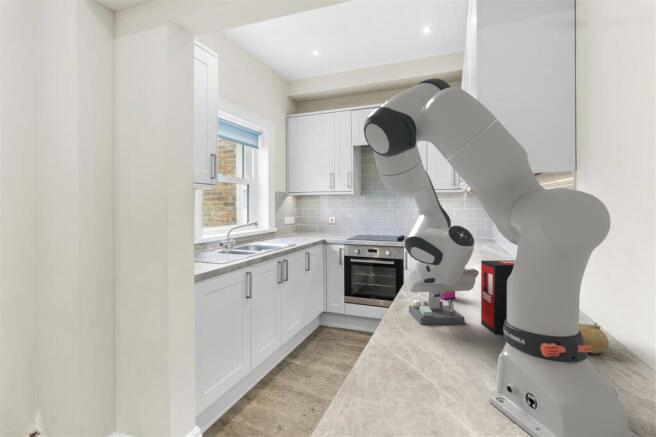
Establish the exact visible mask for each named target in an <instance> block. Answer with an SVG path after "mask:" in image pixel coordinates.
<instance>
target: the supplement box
mask: <svg viewBox="0 0 656 437" xmlns="http://www.w3.org/2000/svg"><path fill="white" fill-rule="evenodd" d="M447 299H448V300H456V291H447V292H446V293H444V294H442V296H441V297H440V300H444V301H447Z"/></svg>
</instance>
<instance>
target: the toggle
mask: <svg viewBox="0 0 656 437" xmlns="http://www.w3.org/2000/svg"><path fill="white" fill-rule="evenodd" d="M448 306H449V313H456V311H457V310H456V309H455V306H454V302H453V299H448Z"/></svg>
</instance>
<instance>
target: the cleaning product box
mask: <svg viewBox="0 0 656 437" xmlns="http://www.w3.org/2000/svg"><path fill="white" fill-rule="evenodd" d="M480 263H481V264H480V265H481V266H480V268H481V269H480V270H481V273H480V276H481V279H480V281H481V282H480V283H481V284H480V287H481V289H480V290H481V291H480V294H481V295H480V298H481V299H480V301H481V302H480V305H481V306H480V307H481V308H480V319H481V320H480V325H481V326H483V327H485V329H486V330H488V331H489V332H491V333H492V334H494V335H495V336H504V331H503V327H504V321H505V319H507V280H508V277H509V276H510V275H511V273H512V270H513V267H514V263H515V260H481V262H480Z"/></svg>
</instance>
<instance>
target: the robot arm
mask: <svg viewBox="0 0 656 437" xmlns="http://www.w3.org/2000/svg"><path fill="white" fill-rule="evenodd" d="M363 133H364V138H365V141H366V143H367V145H368V146H369V148H370V149H371V150H372V152H373V157H374V161H375V164H376V168H377V170H378V174H379V176H380V179H381V181H382V184H383V186H384V187H385V189H386V190H387V191H388V192H389V193H392V194H393V195H397V196H410V195H412V196H413V199H414V201H415V203H416V206H417V208H418V215H417V218H416V220H415V222H414V224H413V226H412V228H411V230H410V231H409V233H408V235H407V237H406V239H405V240H404V248H405V250H406V252H407V254H408V255H409V256H410V258H413V259H414V260H415V261H417V262H416V263H415V269H413V270H412V271H411V272H410V275H409V277H408V279H407V280H408V281H407V286H408V289H409V291H410V292H411V293H427V292H431V295H432V297H441V296H442V294H444V293H446V292H447V291H455V292H469V291H471V290H473V289H474V287H475V284H476V278H478V276H479V271H478V270H477V269H475V268H466V266H467V264H468V263H469V261H470V260H471V257H472V255H473V253H474V248H475V238H474V236H473V234H472V233H471V231H470V230H468V228H465V227H463V226H461V225H452V221H451V218H450V216H449V214H448V213H447V211H446V210H445V209H444V208H443V206H442V204H441V203H440V200H439V198H438V196H437V192H436V190H435V187H434V185H433V182H432V180H431V178H430V175H429V174H428V172H427V171H426V170H425V167H424V164H423V163H424V162H423V161H422V157H421V154H420V151H419V147H418V143H419V142H422V141H423V142H424V141H426V142H429V143H431V144H432V145H433V146H434V147H435V148H436V149H437V150H438V151H439V153H440V154H441V155H442V157H443V158H444V159H445V160H446V161H447V163H449V165H450V166H451V167H452V169H453V170H454V171H456V173H457V174H458V175H459V176H460V177H461V179H462V180H463V181H464V182H465V184H466V185H467V186H468V187H469V188H470V189H471V190H472V192H473V193H474V194H475V196H476V197H477V199H478V201H479V202H480V204H481V206H482V207H483V209H484V211H485V212H486V213H487V215H488V216H489V218H490V220H491V221H492V222H493V224H494V225H495V226H496V229H497V231H498V232H499V233H500V234H501V235H502V236H503V237H504V238H505V239H506V240H507V241H508V242H510V243H512V244H513V245H516V246H517V248H516V249H517V250H516V251H517V252H516V254H515V255H516V256H515V263H514V267H513V270H512V273H511V275H510V276H509V277H508V280H507V319H505V321H504V327H503V331H504V335H503V339H504V341H505V344H504V346H503V349H502V350H501V352H500V354H499V355H498V358H497V359H498V360H497V365H496V366H497V367H496V368H497V369H496V379H495V387H494V388H495V389H494V390H493V391H492V392H491V393H489V397H488V401H489V403H491V404H492V406H495V408H496V409H498V410H499V411H501V412H502V413H503V414H504V415H506V416H507V417H508V418H510V419H511V420H512V421H513V422H515V424H517V425H518V426H519V427H520V428H521V429H523V430H524V431H525V432H527V433H528V434H529V435H531V436H532V437H638V436H637V435H636V434H635V433H634V432H633V431H632V430H631V429H630V428H629V419H628V415H627V414H628V413H627V410H626V408H625V405H624V403H623V402H622V401H621V400H620V397H619V393H618V392H617V389H615V388H614V387H613V386H610V385H609V384H608V383H607V382H606V381H605V379H604V378H603V377H602V375H601V374H600V373H599V372H598V370H597V369H596V368H595V366H594V365H593V364H592V363H591V361H590V360H589V352H593V351H591V350H587V349H588V348H591V347H593V346H592V345H585V342H584V339H583V336H582V333H581V331H580V330H579V324H580V294H581V287H582V282H583V279H584V275H585V272H586V269H587V266H588V263H589V260H590V258H591V255H592V254H593V251H594V250H595V249H596V248H597V247H599V246H600V245H601V244H602V243H603V242H604V241H605V240H606V238H607V236H608V235H609V233H610V229H611V223H612V222H611V216H610V213H609V210H608V208H607V206H606V205H605V203H604V202H603V201H602V200H600V199H599V198H598V197H596V196H595V195H593V194H590V193H588V192H586V191H581V190H577V189H574V188H573V189H572V188H567V187H556V188H555V187H553V188H548V189H546V188H545V187H544V186H542V185H541V184H540V182H539V181H538V179H537V177H536V175H535V173H534V171H533V170H532V168H531V165H530V163H529V156H528V153H527V151H526V149H525V148H524V147H523V146H522V145H521V144H520V143H519V141H518V140H517V139H516V138H515V137H514V136H513V135H512V134H511V132H510V131H509V130H508V129H507V128H506V127H505V126H504V125H503V124H502V123H501V121H500V120H499V119H497V117H496V116H495V115H494V114H493V113H492V112H491V111H490V110H489V109H488V108H487V107H486V106H485V105H484V104H483V103H481V102H480V101H479V100H478V99H476V98H475V97H474V96H473V95H471V94H470V93H468V92H467V91H466V90H464V89H462V88H461V87H458V86H451V85H450V84H449V83H448V82H446V81H445V80H443V79H441V78H436V77H435V78H428V79H425V80H422V81H420V82H418V83H417V84H415V85H413V86H412V87H410V88H407V89H405V90H404V91H402V92H399V93H397V94H396V95H394V96H392V97H391V98H389V100H387V101H385V103H383V104H382V105H380V106H379V107H377V108H375V109H374V110H373V111H372V112H371V113H370V114H369V115H368V116H367V118H366V119H365V121H364V123H363Z"/></svg>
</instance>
